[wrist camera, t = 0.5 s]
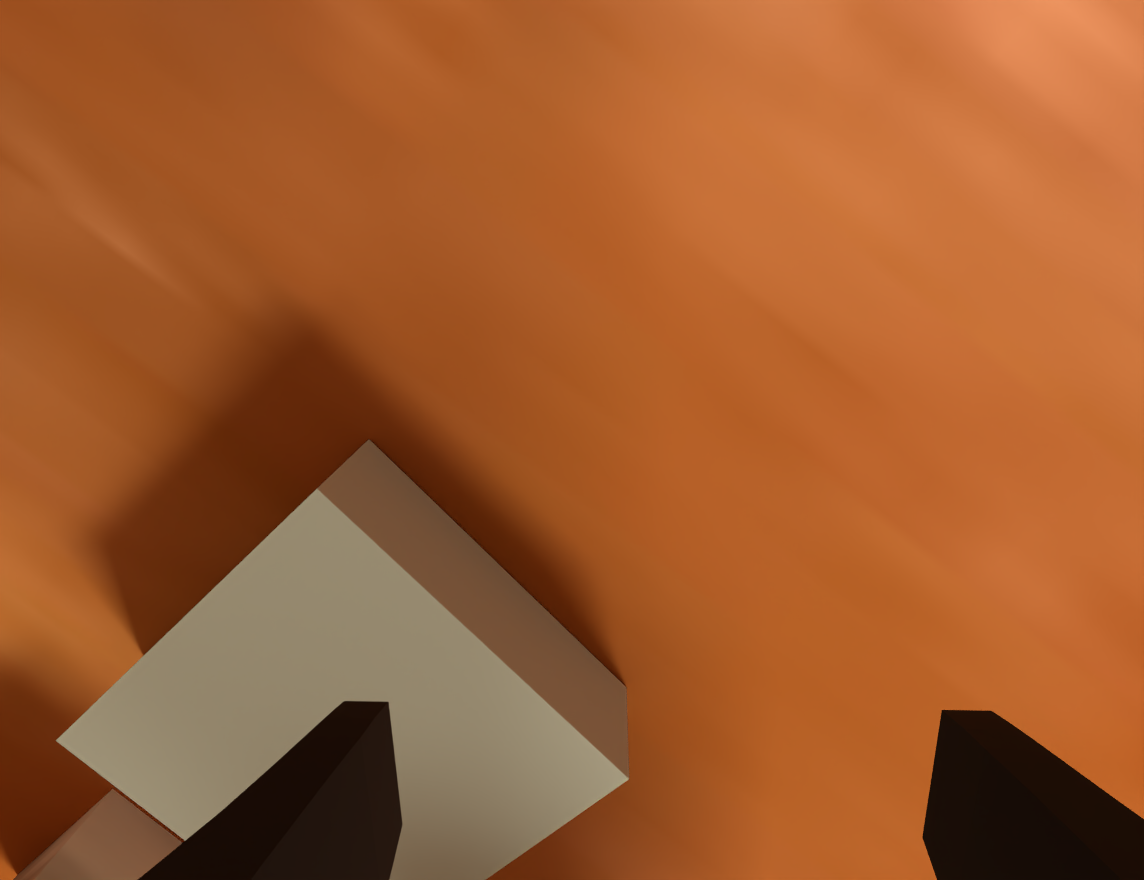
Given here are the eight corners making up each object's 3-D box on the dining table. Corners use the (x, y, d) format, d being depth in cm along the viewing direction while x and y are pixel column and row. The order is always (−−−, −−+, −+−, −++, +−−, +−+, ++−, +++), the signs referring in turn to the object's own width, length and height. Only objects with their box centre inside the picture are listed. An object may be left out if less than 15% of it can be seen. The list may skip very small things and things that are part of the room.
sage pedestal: (391, 861, 23) (354, 971, 20) (142, 657, 21) (55, 740, 18) (626, 687, 21) (629, 778, 17) (369, 439, 19) (317, 488, 16)
